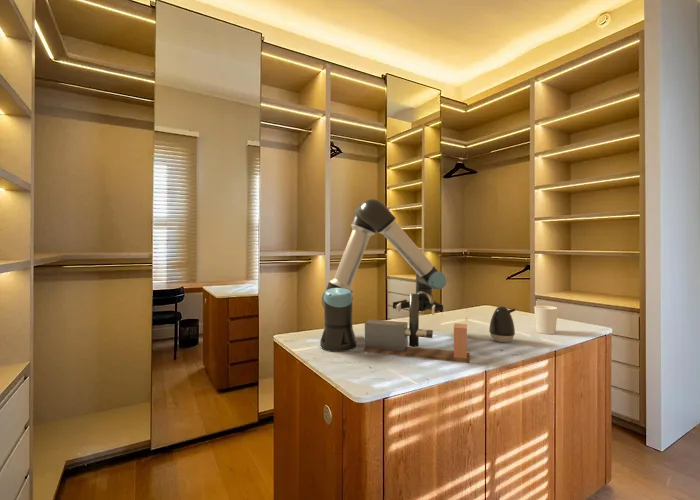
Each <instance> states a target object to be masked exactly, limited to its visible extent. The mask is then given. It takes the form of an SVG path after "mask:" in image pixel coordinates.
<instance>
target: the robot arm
mask: <svg viewBox="0 0 700 500" xmlns="http://www.w3.org/2000/svg"><path fill="white" fill-rule="evenodd" d="M353 214H354V215H353V216H354V217H353V219H352V221H351V223H350V224H351V225H350V226H351V228H352V229H351V230H352V231H351V234H350V236H349V238H348V241H347V244H346V246H345V249H344V251H343V254H342V256H341V259H340V261H339V264H338V267H337V270H336V272H335V274H334V277H333V279H331V280H329V281H328V283H327V286H326V289H325V290H324V291H323V293H322V295H321V305H322V307H323V310H324V314H323V315H324V319H323V322H324V324H323V325H324V329H323V330H322V331H323V332H322V334H321V337H320V342H319V344H320V345H319V346H321V347H322V348H324V349H326V350H325V351H328V350H330V352H347V351H351V350H354V349H356V348H357V346H358V345H357V344H358V342H357V337H356V335H355V331H354V329H353V300H354V298H353V292H354V289H353V286H352V284H353V282H354V280H355V277H356V274H357V272H358V269H359V267H360V264H361V262H362V259H363V256H364V254H365V251H366V248H367V246H368V243H369V241H370V238H371V237H372V236H374V235H375V234H376V232H377V233H378V234H381V235H383V236H384V238H385V239H386V240H387V242H389V243H390V245H391V246H393V248H394V249H395V250H396V251H397V253H398V254H399V255H400V256H402V258H403V259H404V260H405V261H406V262H407V264H408V265H409V266H410V267H411V268H412V269H413V271H414V272H415V294H419V312H424V311H426V310H430V311H431V315H432V316H435V314H436V313H438V312H444V305H443V304H441V303H439V302H437V300H435V301H433V299H434V295H433V290H442V289H443V288H444V287H445V286H446V285H447V280H448V279H447V276H446V274H445V273H443V272H441V271H439V270H438V269H437V268H436V267H435V266H434V265H433V263H432V262H431V261H430V260H429V258H428V257H426V255H425V254H424V253H423V252H422V250H421V249H420V248H419V247H418V246H417V245H416V243H415V242H414V241H413V239H411V238H410V236H408V234H407V233H406V231H404V230H403V228H402V227H401V226H400V225H399V224H398V223H397V221H396V220H397V219H396V217H395V216H394V214H393V213H392V212H391V210H389V208H388V207H387V206H386V205H385V204H384V203H383V202H382V201H380V200H378V199H376V198H375V199H374V198H369V199H367V200H365V201H363V202H362V203H359V205H358V206H357V207H356V208H355V210H354V213H353ZM392 309H394V310H396V313H397V314H398V313H399V312H401V310H402V309H409V301H408V300H407V299H401V300H398V301H393V302H392ZM321 347H320V348H321ZM322 348H321V349H322ZM324 349H323V350H324Z"/></svg>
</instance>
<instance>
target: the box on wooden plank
mask: <svg viewBox="0 0 700 500" xmlns="http://www.w3.org/2000/svg"><path fill="white" fill-rule="evenodd" d="M405 328H409V321H408V322H407V321H396V320H381V319H368V320H367V321H365V322H364V348H368V349H378V350H388V351H398V352H405V351H406V349H407V347H409V340H408V339H409V336H405Z"/></svg>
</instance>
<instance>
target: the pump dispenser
mask: <svg viewBox="0 0 700 500" xmlns="http://www.w3.org/2000/svg"><path fill="white" fill-rule="evenodd" d="M514 312H516V309H515V308H511V309H508V307H506V306H504V305H503V306H501V305H500V306H498V307H496V309H495V310H494V312H492V313H493V314H492V316H491V319H490V324H489V333H490V334H489V335H490V337H491V338H492V340H494V341H495V342H498V343H502V342H507V343H510V342H511V341H513V339H514V337H515V334H516V330H515V324H514V319H513V316H512V314H511V313H514Z"/></svg>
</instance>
